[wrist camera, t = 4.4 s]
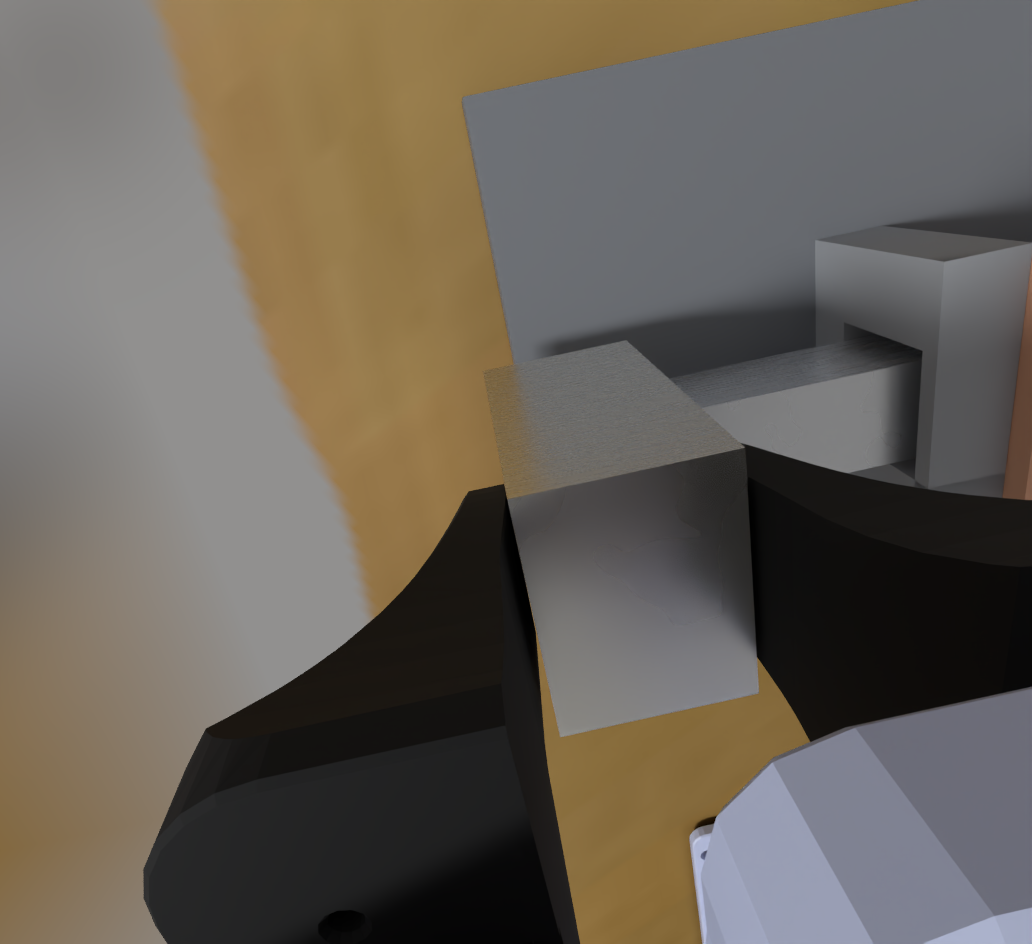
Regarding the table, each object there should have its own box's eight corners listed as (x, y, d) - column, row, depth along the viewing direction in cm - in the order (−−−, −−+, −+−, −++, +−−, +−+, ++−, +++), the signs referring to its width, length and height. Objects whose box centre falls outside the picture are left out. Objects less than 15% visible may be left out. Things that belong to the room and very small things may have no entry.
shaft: (1082, 415, 15) (1428, 545, 10) (519, 537, 15) (560, 736, 10) (1111, 235, 14) (1546, 273, 8) (482, 370, 14) (507, 498, 8)
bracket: (1096, 520, 20) (1301, 627, 15) (568, 636, 20) (606, 781, 15) (1207, -56, 14) (1592, -174, 9) (461, 102, 14) (470, 63, 9)
